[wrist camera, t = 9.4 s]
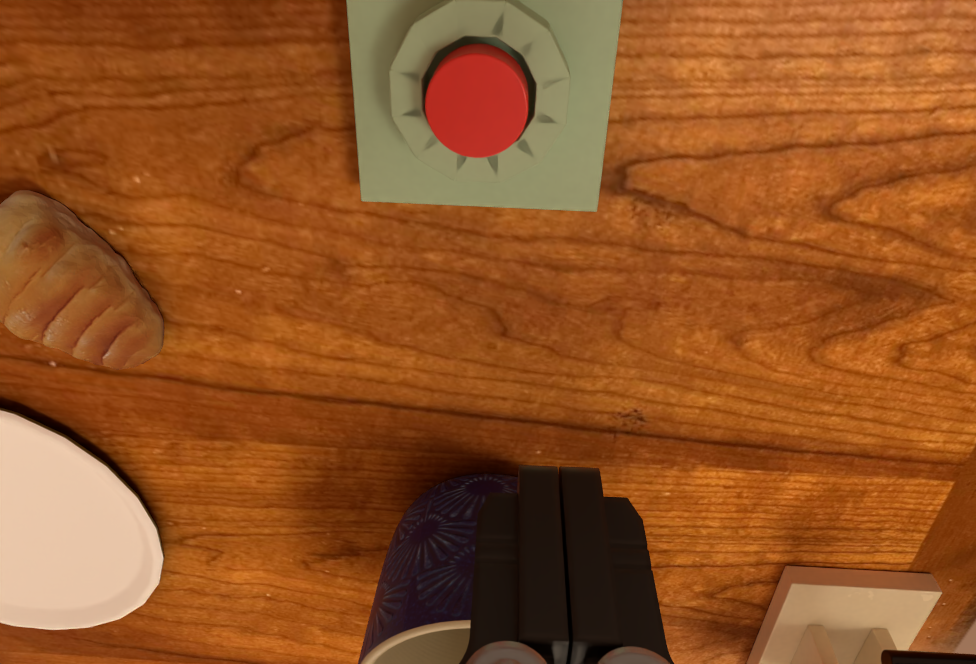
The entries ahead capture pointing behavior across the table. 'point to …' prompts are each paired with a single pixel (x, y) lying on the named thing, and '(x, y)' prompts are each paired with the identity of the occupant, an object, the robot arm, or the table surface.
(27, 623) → the plate
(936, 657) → the lever
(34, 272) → the pastry
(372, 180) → the button block
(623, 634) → the robot arm
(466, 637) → the planter
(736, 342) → the table surface
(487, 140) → the button
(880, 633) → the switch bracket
